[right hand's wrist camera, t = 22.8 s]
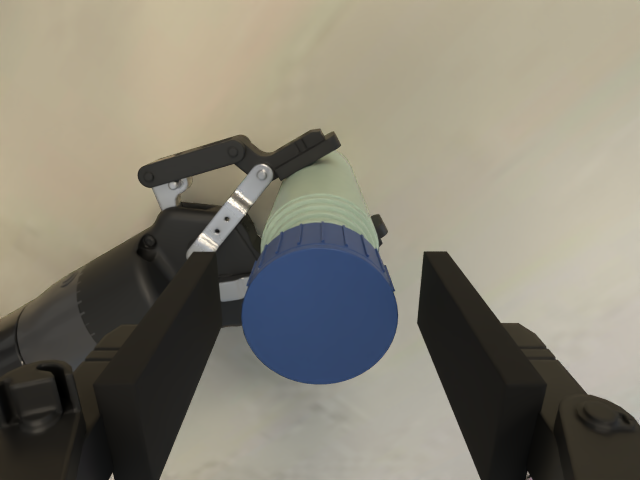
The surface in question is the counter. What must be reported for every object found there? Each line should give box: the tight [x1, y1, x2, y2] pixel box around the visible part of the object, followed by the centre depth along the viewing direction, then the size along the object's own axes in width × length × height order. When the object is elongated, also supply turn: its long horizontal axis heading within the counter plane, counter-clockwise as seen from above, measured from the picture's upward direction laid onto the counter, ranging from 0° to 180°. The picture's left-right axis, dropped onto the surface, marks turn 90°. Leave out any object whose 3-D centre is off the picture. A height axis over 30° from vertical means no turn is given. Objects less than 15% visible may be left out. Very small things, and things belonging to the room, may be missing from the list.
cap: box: [241, 221, 398, 384], centre depth 13 cm, size 5×5×2 cm
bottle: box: [261, 150, 379, 253], centre depth 22 cm, size 5×5×18 cm
